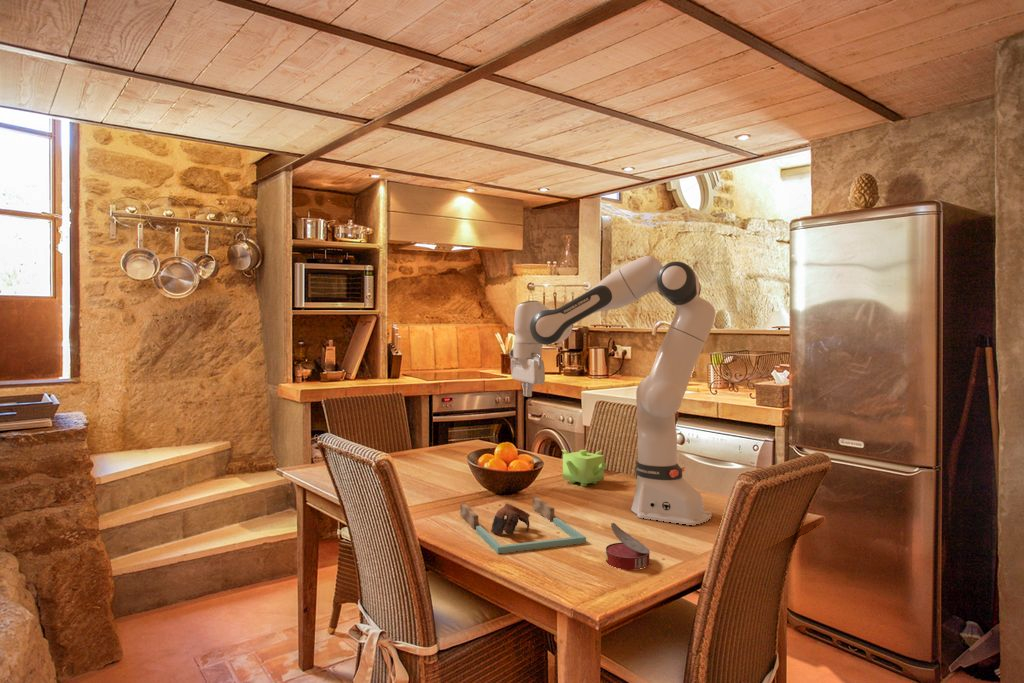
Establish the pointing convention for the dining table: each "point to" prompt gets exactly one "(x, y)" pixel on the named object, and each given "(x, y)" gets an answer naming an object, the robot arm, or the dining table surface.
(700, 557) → the dining table surface
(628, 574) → the dining table surface
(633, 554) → the canned food
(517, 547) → the teal frame
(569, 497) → the dining table surface
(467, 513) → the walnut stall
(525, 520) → the dark brown curved piece
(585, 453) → the green knobbed block
